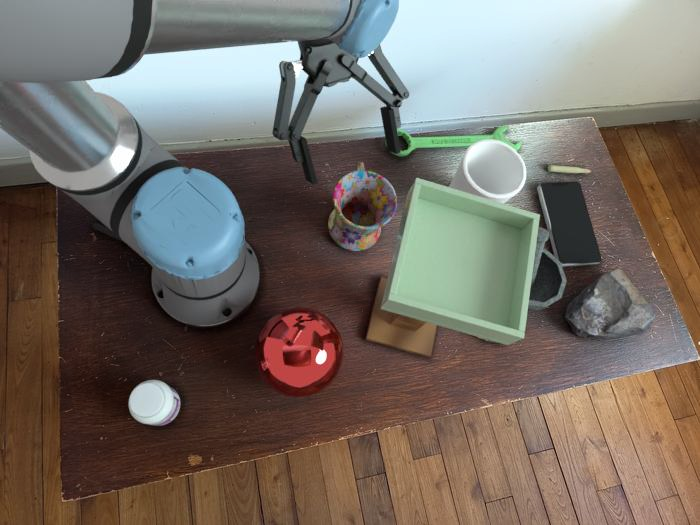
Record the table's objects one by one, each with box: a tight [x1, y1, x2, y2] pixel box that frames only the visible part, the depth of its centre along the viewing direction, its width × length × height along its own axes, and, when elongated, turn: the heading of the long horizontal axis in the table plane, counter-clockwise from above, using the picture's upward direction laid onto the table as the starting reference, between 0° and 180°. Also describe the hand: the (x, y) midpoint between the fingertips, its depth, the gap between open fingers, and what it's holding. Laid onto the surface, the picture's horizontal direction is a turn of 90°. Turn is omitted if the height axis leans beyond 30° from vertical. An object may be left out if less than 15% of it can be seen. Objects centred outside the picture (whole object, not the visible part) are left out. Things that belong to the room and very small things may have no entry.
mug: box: [327, 161, 398, 252], centre depth 81 cm, size 12×9×11 cm
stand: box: [364, 276, 438, 358], centre depth 71 cm, size 10×10×24 cm
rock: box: [564, 267, 657, 339], centre depth 85 cm, size 14×11×5 cm
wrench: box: [385, 125, 523, 158], centre depth 93 cm, size 25×2×5 cm
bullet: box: [547, 164, 592, 175], centre depth 95 cm, size 1×1×8 cm
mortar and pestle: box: [528, 226, 568, 311], centre depth 81 cm, size 11×9×12 cm
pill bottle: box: [128, 379, 181, 427], centre depth 68 cm, size 5×5×10 cm
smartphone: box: [536, 180, 603, 268], centre depth 91 cm, size 8×1×15 cm
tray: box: [380, 177, 541, 346], centre depth 58 cm, size 14×14×4 cm
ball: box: [253, 306, 345, 399], centre depth 72 cm, size 12×12×12 cm
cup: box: [448, 139, 527, 204], centre depth 84 cm, size 10×10×13 cm
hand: (353, 166), depth 78 cm, fingers open, 13 cm apart
